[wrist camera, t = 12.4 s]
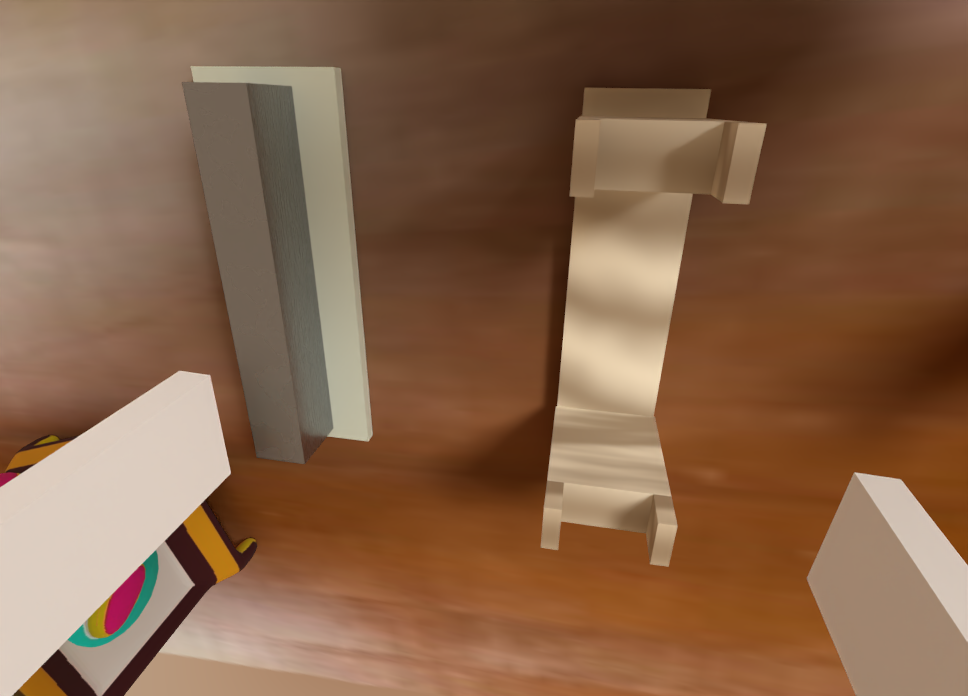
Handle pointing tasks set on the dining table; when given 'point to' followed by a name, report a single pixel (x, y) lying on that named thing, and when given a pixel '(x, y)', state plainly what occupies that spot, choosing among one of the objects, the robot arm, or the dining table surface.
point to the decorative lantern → (134, 601)
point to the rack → (630, 297)
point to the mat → (325, 229)
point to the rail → (264, 259)
